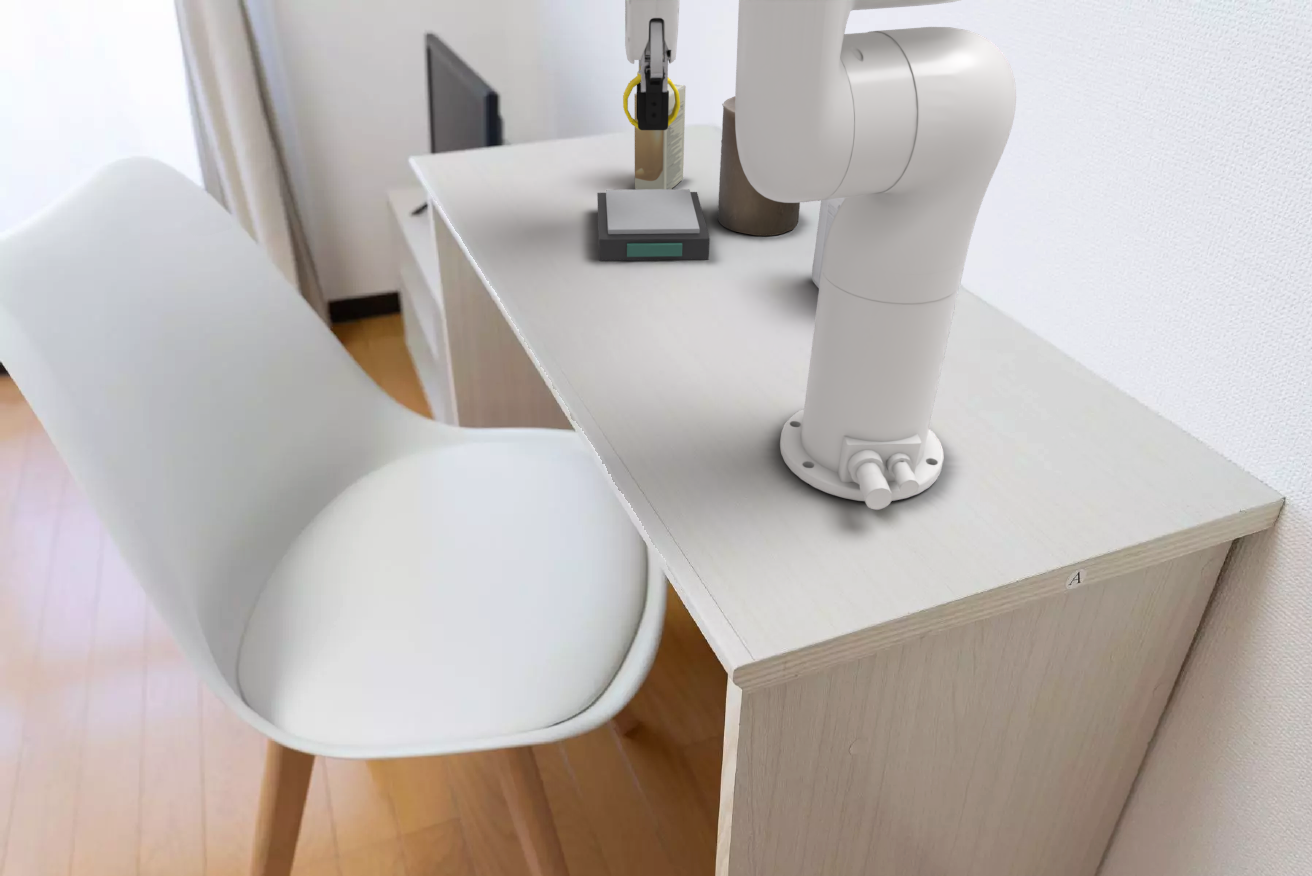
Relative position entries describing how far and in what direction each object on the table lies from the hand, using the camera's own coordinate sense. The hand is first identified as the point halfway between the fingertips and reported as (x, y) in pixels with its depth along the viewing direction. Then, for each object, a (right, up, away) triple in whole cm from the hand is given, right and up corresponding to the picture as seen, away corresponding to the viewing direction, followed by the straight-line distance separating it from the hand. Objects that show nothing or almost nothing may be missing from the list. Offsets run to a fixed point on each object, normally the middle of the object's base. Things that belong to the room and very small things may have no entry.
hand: (652, 123), depth 104 cm
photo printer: (+20, -20, -5) cm, 29 cm away
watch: (0, -1, 0) cm, 1 cm away
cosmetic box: (+1, -1, +21) cm, 21 cm away
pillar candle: (+13, -8, +11) cm, 19 cm away
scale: (0, -10, +7) cm, 13 cm away
